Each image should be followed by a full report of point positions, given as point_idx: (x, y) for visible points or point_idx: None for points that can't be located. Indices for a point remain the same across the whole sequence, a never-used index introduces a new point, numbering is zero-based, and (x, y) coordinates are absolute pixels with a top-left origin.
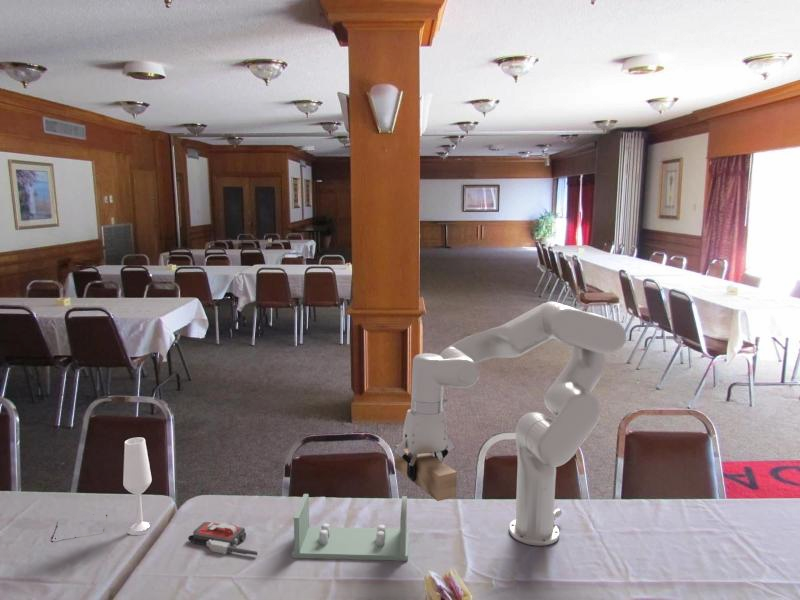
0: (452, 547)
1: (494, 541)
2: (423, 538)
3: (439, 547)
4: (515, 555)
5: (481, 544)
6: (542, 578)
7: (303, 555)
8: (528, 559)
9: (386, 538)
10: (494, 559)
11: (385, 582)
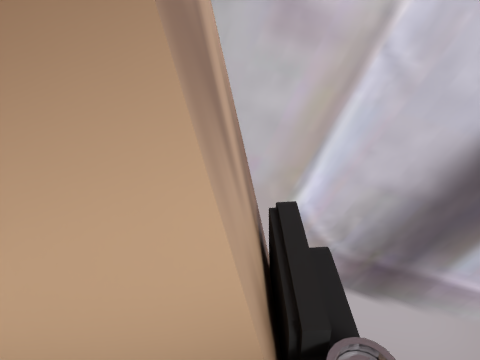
0: (304, 106)
1: (449, 114)
2: (230, 19)
3: (263, 93)
4: (447, 191)
5: (399, 117)
6: (430, 272)
7: None
8: (462, 213)
9: None
10: (382, 191)
11: None
